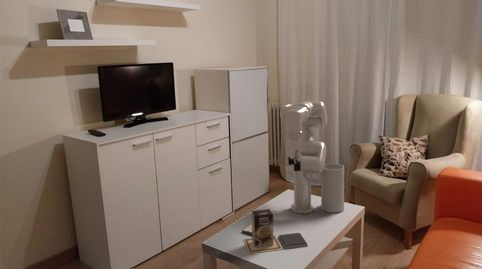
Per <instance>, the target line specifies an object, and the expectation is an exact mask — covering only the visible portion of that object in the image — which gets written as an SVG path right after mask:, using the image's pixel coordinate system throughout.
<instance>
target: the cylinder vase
mask: <svg viewBox="0 0 482 269" xmlns="http://www.w3.org/2000/svg"><path fill="white" fill-rule="evenodd" d="M320 175H321V176H320V178H321V180H320V183H321V184H320V185H321V192H320V194H321V195H320V196H321V198H320V199H321V206H320V207H321V209H322V210H323V211H325V212H328V213H340V212H343V211H344V210H345V165H343V164H339V163H325V165H324V170H323V172H322V173H321V174H320Z"/></svg>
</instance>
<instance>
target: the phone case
mask: <svg viewBox="0 0 482 269" xmlns="http://www.w3.org/2000/svg"><path fill="white" fill-rule="evenodd" d="M242 233H243V234H245V235H248V236H252V223H250V224H249V225H247V226H246V227H245V228H243V229H242Z"/></svg>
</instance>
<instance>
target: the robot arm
mask: <svg viewBox="0 0 482 269" xmlns="http://www.w3.org/2000/svg"><path fill="white" fill-rule="evenodd" d="M279 117H280V119H281V121H284V122H285V128H286V129H285V136H286V149H285V150H286V155H287V156H288V157H287V158H288V159H287V160H288V165H289V166H291V167H292V171H293V173H292V174H293V204H292V205H291V207H290V208H291V211H292V212H294V213H296V214H298V215H299V214H301V215H303V214H310V213H312V212H313V211H314V209H315V207H314V206H313V205H312V180H311V177H310V175H321V173H322V172H323V170H324V165H325V164H326V159H327V158H326V157H327V145H326V143H325V142H323V141H315V139H316V136H315V134H314V132H313V131H312V130H311V129H310V128H314V129H323V128H325V127H326V126H328V114H327V108H326V105H325V104H324V102H323V101H321V100H314V101H312V100H304V101H302V102H298V103H291V104H286V105H283V106H282V107H281V108H280V112H279ZM309 174H310V175H309Z"/></svg>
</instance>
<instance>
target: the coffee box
mask: <svg viewBox="0 0 482 269" xmlns="http://www.w3.org/2000/svg"><path fill="white" fill-rule="evenodd" d="M271 210H272V209H270V208H267V209H257V210H251V224H252V237H251V238H252V242H253V244H254V246H255V248H258V247H265V246H273V245H274V243H273V236H274V213H273V212H272V211H271Z"/></svg>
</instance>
